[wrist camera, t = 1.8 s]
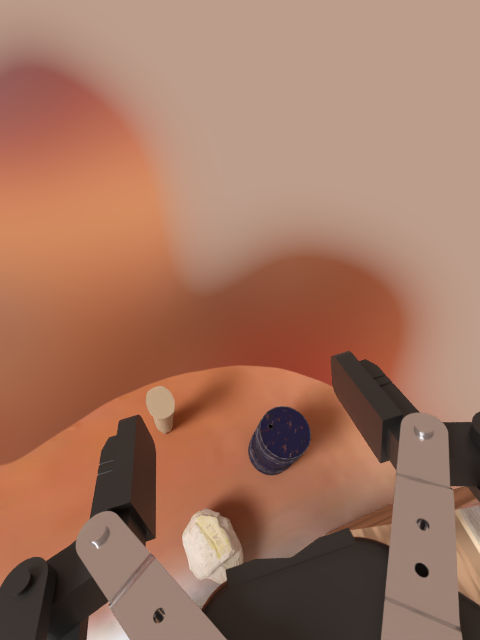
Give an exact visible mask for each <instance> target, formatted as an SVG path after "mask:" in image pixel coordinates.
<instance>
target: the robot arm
mask: <svg viewBox="0 0 480 640" xmlns="http://www.w3.org/2000/svg"><path fill="white" fill-rule="evenodd" d="M331 370H332V384H333V388H334V391H335V394H336V396H337V397H338V399H339V401H340V402H341V404H342V405H343V407H344V408H345V410H346V411H347V413H348V414H349V416H350V417H351V419H352V421H353V422H354V424H355V425H356V427H357V428H358V430H359V431H360V433H361V434H362V436H363V437H364V439H365V440H366V442H367V444H368V445H369V447H370V448H371V450H372V451H373V453H374V454H375V456H376V457H377V459H378V460H379V462H380V463H383V462H386V461H389V460H390V462H391V463H392V464H393V466H394V467H395V469H396V481H395V491H394V502H393V513H392V523H391V534H390V545H387V544H385V543H382V542H380V541H377V540H374V539H370V538H365V537H353V535H352V533H351V531H350V529H349V528H346V529H343V530H340V531H337V532H334V533H332V534H329V535H326V536H323V537H320V538H318V539H317V540H315V541H314V542H313V543H311V544H310V545H308V546H307V547H306V548H304V549H303V550H301V551H300V552H299V553H297V554H296V555H295V556H293V557H291V558H276V559H255V560H252V561H249V562H246V563H243V564H241V565H238V566H235V567H232V568H229V569H226V577H227V580H226V581H225V582H224V583H222V584H221V585H220V586H219V587H218V588H217V589H216V590H215V591H214V592H213V593H212V594H211V596H210V597H209V598H208V600H207V601H206V603H205V604H204V606H203V608H202V609H200V608H199V607H198V606H197V605H196V604H195V602H194V601H193V600H192V599H191V598H190V597H189V596H188V594H187V593H186V592H185V591H184V590H183V589H182V587H181V586H180V585H179V584H178V583H177V582H176V581H175V579H174V578H173V577H172V576H171V575H170V574H169V572H168V571H167V570H166V569H165V568H164V567H163V566H162V564H161V563H160V562H159V561H158V560H157V559H156V558H155V557H154V556H153V555H152V554H151V553H150V552H149V551H148V550H147V549H146V547H145V544H146V541H149V540H152V539H155V538H156V449H155V444H154V441H153V438H152V436H151V435H150V433H149V431H148V429H147V427H146V425H145V423H144V421H143V419H142V417H141V416H140V415H136V416H132V417H129V418H126V419H122V420H120V421H119V424H118V431H117V435H116V436H113V437H109V438H108V440H107V442H106V444H105V445H104V447H103V449H102V451H101V457H100V466H99V469H98V476H97V480H96V486H95V492H94V498H93V503H92V509H91V515H90V519H89V520H88V521H87V522H86V523H85V525H84V526H83V527H82V529H81V530H80V532H79V534H78V537H77V540H76V541H74V542H73V543H72V544H71V545H70V546H68V547H67V548H65V549H64V550H62V551H61V552H59V553H58V554H56V555H55V556H53V557H52V558H50V559H49V560H47V561H45V560H44V559H43V558H40V557H33V558H29V559H27V560H25V561H23V562H22V563H20V564H19V565H18V566H16V567H15V568H14V569H13V570H12V571H11V572H10V574H9V575H8V576H7V577H6V579H5V580H4V582H3V583H2V585H1V587H0V640H86V639H87V629H88V618H89V616H90V615H91V614H92V613H94V612H95V611H96V610H98V609H99V608H100V607H102V606H103V605H104V604H106V603H107V602H108V601H109V603H110V604H109V607H110V609H111V611H112V613H113V614H114V616H115V617H116V619H117V620H118V622H119V623H120V625H121V627H122V628H123V630H124V631H125V633H126V634H127V636H128V637H129V639H130V640H480V605H479V604H477V603H476V602H474V601H473V600H471V599H470V598H468V597H467V596H465V595H464V594H462V593H461V592H459V591H458V577H457V554H456V531H455V508H454V493H453V489H452V488H450V486H467V487H468V488H469V489H470V491H471V492H472V493H473V495H474V496H475V497H476V498H477V500H478V501H479V502H480V412H478V413H476V414H475V416H474V417H473V420H472V422H456V423H455V422H451V423H448V422H447V423H446V422H441V421H440V420H439V419H437V418H436V417H434V416H432V415H429V414H426V413H420V412H419V411H418V410H417V409H416V408H415V407H414V406H413V405H412V404H411V403H410V402H409V400H408V399H407V398H406V397H405V396H404V395H403V394H402V393H401V392H400V390H399V389H398V388H397V387H396V386H395V385H394V384H392V381H391V380H390V379H389V378H388V377H387V376H386V375H385V374H384V373H383V372H382V370H381V369H380V368H379V367H378V366H377V365H375V364H373V363H371V362H369V361H368V360H366V359H365V360H362V361H358V360H357V359H356V357H355V356H354V355H353V354H352V353H351V352H350V351H347V352H344V353H341V354H338V355H334V356H332V357H331Z"/></svg>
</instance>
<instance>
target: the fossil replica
mask: <svg viewBox="0 0 480 640" xmlns="http://www.w3.org/2000/svg"><path fill="white" fill-rule="evenodd" d="M182 539H183V546H184V548H185V552H186V555H187V557H188V562H189V569H190V570H191V571H192V572H193V574H194V576H196V577H197V578H198V579H199V580H202V579H204V578H207V579H210V580H213V581H215V582H217V583H218V584H222V583H224V582H225V581H226V580H227V577H226V569H229V568H232V567H235V566H238V565H241V564H243V560H244V559H243V551H242V546H241V543H240V542H239V539H238V538H237V535H236V533H235V531H234V530H233V527H232V525H231V523H230V520H229V519H228V518H226V517H223V516H220V513H218V512H214V511H212V510H210V509H204V510H200V511H198V512H197V513H196V514H194V515H193V516H192V518H191V521H190V523H189V524H188V526H187V527H186V529H185V531H184V532H183V535H182Z"/></svg>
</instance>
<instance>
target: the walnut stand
mask: <svg viewBox="0 0 480 640" xmlns="http://www.w3.org/2000/svg"><path fill="white" fill-rule="evenodd" d="M453 493H454V508H455V531H456V554H457V577H458V591H459V592H461V593H462V594H464V595H465V596H467V597H468V598H470V599H471V600H473V601H474V602H476V603H477V604H479V605H480V545H479V543H478V542H477V540H476V539H475V537H474V535H473V534H472V532H471V530H470V529H469V527H468V525H467V524H466V522H465V520H464V519H463V517H462V516H461V514H460V512H459V511H458V509H459V508H461V507H463V506H465V505H467V504H470V503H472V502H474V501H476V500H477V498H476V497H475V496H474V495H473V493H472V492H471V491H470V489H469V488H468V487H467V486H465V487H461V488H457V489H453ZM392 513H393V504H392V505H390V506H387V507H385V508H383V509H381V510H378V511H376V512H374V513H372V514H369V515H367V516H365V517H363V518H361V519H358V520H356V521H354V522H352V523H349V524H347V525H345V526H343V527H340V528H338V529H336V530H334V531H331V532H329V533H327V534H326V535H329V534H332V533H334V532H337V531H340V530H343V529H346V528H349V529H350V531H351V533H352V535H353V537H365V538H370V539H374V540H377V541H380V542H382V543H385V544H387V545H390V534H391V523H392Z"/></svg>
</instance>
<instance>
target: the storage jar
mask: <svg viewBox="0 0 480 640" xmlns="http://www.w3.org/2000/svg"><path fill="white" fill-rule="evenodd" d="M310 440H311V431H310V427H309V424H308V422H307V421H306V419H305V418H304V416H303V415H302V414H301V413H299V412H298V411H296V410H295V409H293V408H290V407H285V406H280V407H275V408H273V409H271V410H269V411H268V412H267V413H266V414H265V415H264V416H263V418H262V419H261V421H260V423H259V424H258V426H257V429H256V431H255V432H254V434H253V436H252V438H251V441H250V444H249V449H248V453H249V458H250V461H251V463H252V464H253V466H254V467H255V468H256V469H257V470H258V471H259V472H261V473H263V474H266V475H277V474H280V473H282V472H283V471H285V470H286V469H287V468H289V467H290V466H291V465H292V464H293V463H294V462H295V461H297V460H298V459H299V458H300V457H301V456H302V455H303V453H304V452H305V451H306V450H307V448H308V446H309V444H310Z"/></svg>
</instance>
